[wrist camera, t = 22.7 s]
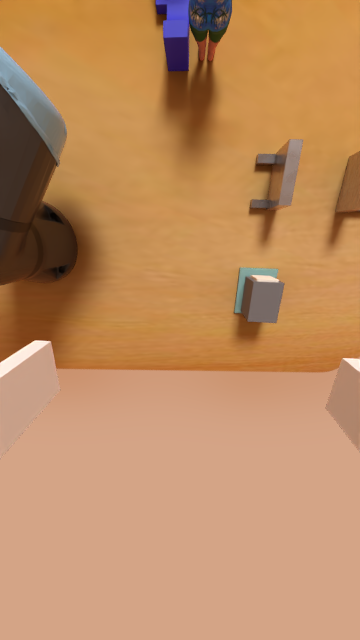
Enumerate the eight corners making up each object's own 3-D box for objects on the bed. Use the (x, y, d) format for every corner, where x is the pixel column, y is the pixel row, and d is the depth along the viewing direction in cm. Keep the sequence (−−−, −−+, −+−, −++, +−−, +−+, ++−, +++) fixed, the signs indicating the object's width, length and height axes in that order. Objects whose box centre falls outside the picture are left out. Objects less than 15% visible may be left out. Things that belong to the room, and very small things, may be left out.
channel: (249, 209, 38) (259, 204, 33) (257, 154, 36) (269, 138, 30) (362, 213, 38) (392, 208, 32) (379, 157, 35) (415, 141, 29)
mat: (234, 312, 45) (234, 312, 45) (239, 267, 42) (240, 267, 41) (268, 313, 45) (269, 314, 44) (277, 269, 42) (278, 269, 41)
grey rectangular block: (240, 310, 44) (247, 321, 39) (245, 274, 42) (254, 279, 36) (265, 312, 44) (276, 323, 39) (272, 275, 42) (284, 281, 36)
